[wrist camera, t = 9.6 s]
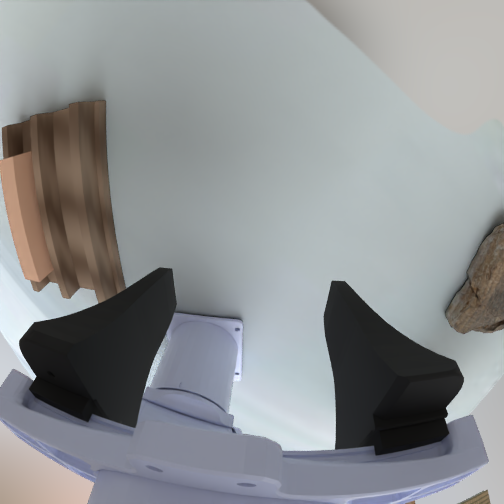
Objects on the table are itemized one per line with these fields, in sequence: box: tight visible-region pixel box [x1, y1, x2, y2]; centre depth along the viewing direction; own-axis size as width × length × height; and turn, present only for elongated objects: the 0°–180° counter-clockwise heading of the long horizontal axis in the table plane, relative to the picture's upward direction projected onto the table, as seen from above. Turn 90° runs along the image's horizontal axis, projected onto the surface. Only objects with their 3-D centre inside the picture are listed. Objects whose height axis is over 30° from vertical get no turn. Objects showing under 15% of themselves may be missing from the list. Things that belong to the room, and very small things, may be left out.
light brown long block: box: [0, 151, 54, 282], centre depth 20 cm, size 12×2×4 cm, turn 178°
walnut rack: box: [2, 101, 126, 303], centre depth 21 cm, size 18×12×3 cm, turn 178°
